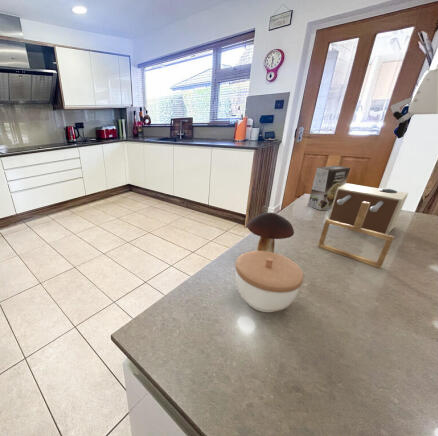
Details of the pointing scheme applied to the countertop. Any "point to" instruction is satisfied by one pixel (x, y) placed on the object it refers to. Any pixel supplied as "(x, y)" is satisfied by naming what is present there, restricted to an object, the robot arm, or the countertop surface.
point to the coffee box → (327, 186)
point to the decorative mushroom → (269, 230)
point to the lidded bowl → (267, 280)
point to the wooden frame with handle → (358, 228)
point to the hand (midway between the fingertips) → (426, 138)
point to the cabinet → (378, 210)
